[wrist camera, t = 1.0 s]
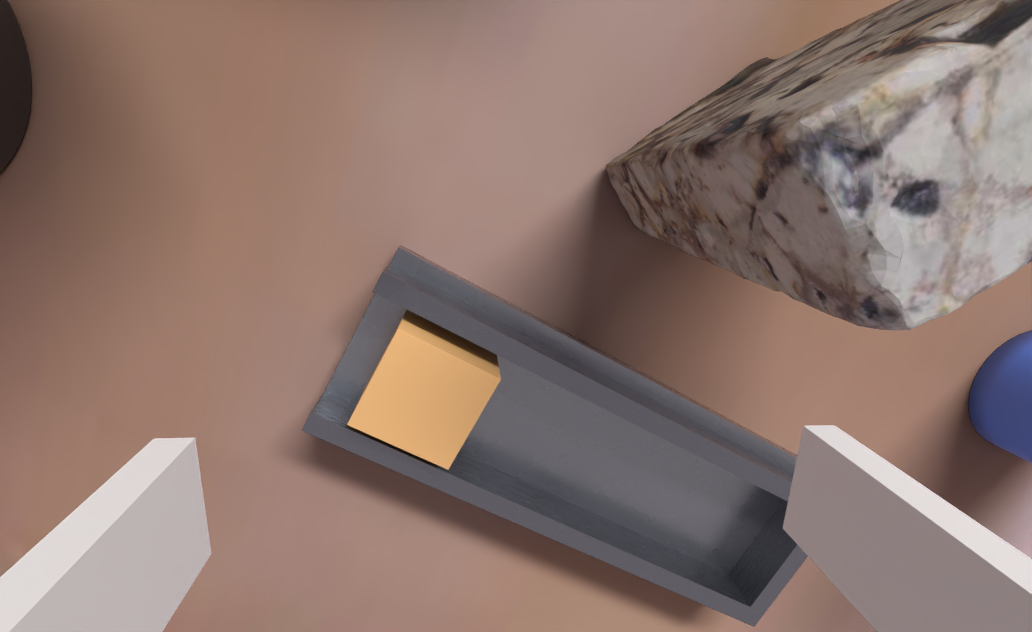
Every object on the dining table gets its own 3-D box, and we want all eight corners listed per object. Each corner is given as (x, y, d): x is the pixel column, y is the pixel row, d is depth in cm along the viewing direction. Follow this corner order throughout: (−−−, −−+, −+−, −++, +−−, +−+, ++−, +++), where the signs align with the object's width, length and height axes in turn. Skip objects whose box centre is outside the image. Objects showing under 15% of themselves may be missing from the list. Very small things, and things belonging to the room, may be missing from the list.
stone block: (650, 258, 32) (924, 376, 13) (585, 164, 30) (791, 139, 11) (830, 122, 31) (1421, 29, 12) (774, 16, 29) (1363, -296, 10)
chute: (314, 414, 33) (293, 445, 29) (400, 245, 31) (391, 254, 27) (718, 592, 39) (745, 637, 35) (812, 463, 37) (852, 496, 33)
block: (361, 394, 32) (347, 424, 28) (406, 309, 30) (398, 328, 27) (450, 435, 33) (448, 469, 29) (496, 354, 32) (501, 379, 28)
